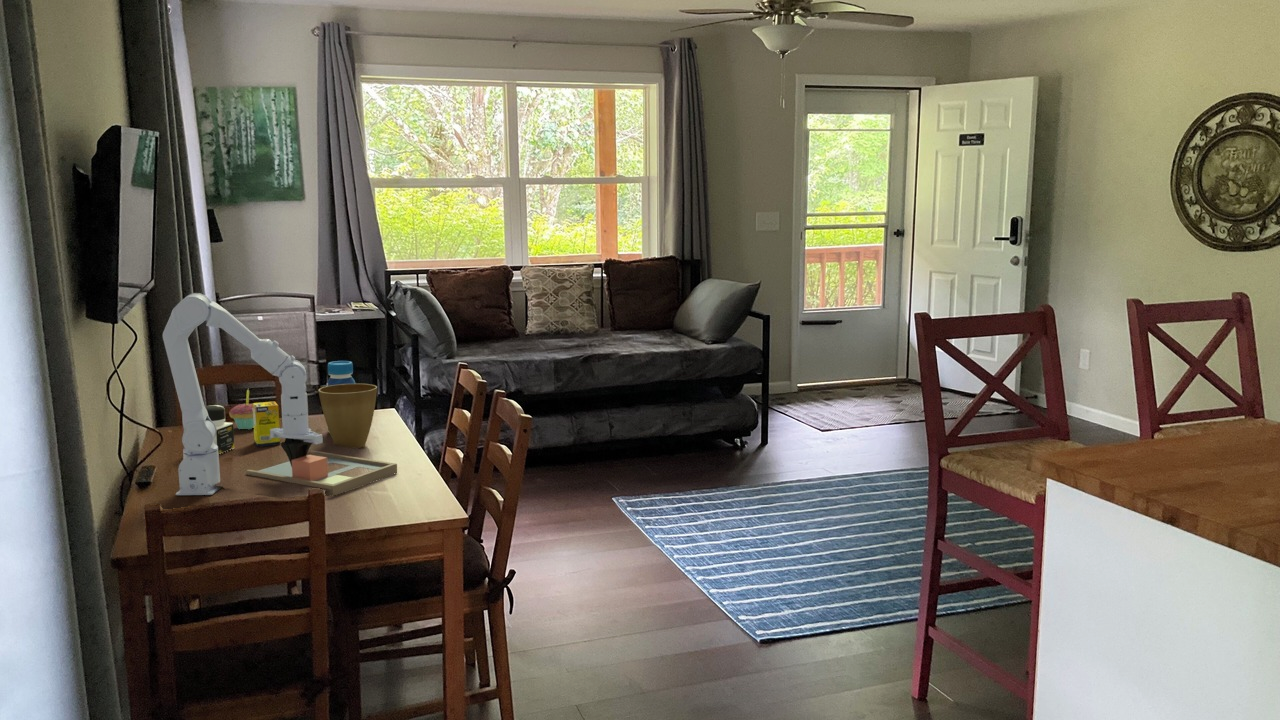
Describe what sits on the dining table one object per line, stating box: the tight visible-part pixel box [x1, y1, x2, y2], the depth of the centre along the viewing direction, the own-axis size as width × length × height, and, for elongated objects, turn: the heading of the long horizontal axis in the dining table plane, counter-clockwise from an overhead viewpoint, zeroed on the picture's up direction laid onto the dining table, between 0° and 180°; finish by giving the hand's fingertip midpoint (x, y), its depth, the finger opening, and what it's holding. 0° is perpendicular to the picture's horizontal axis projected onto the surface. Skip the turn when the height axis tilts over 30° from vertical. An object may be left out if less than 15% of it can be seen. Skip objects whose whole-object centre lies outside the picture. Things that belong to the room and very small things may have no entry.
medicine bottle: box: [204, 404, 236, 456], centre depth 249 cm, size 7×7×12 cm
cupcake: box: [228, 387, 254, 430], centre depth 276 cm, size 9×8×12 cm
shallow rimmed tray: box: [245, 450, 398, 497], centre depth 227 cm, size 27×21×2 cm
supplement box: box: [251, 401, 281, 447], centre depth 258 cm, size 6×6×11 cm
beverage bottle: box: [325, 360, 357, 434], centre depth 271 cm, size 8×8×20 cm
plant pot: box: [318, 383, 378, 450], centre depth 255 cm, size 15×15×16 cm
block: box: [292, 454, 329, 481], centre depth 221 cm, size 6×6×4 cm
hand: (298, 470), depth 224 cm, fingers closed
